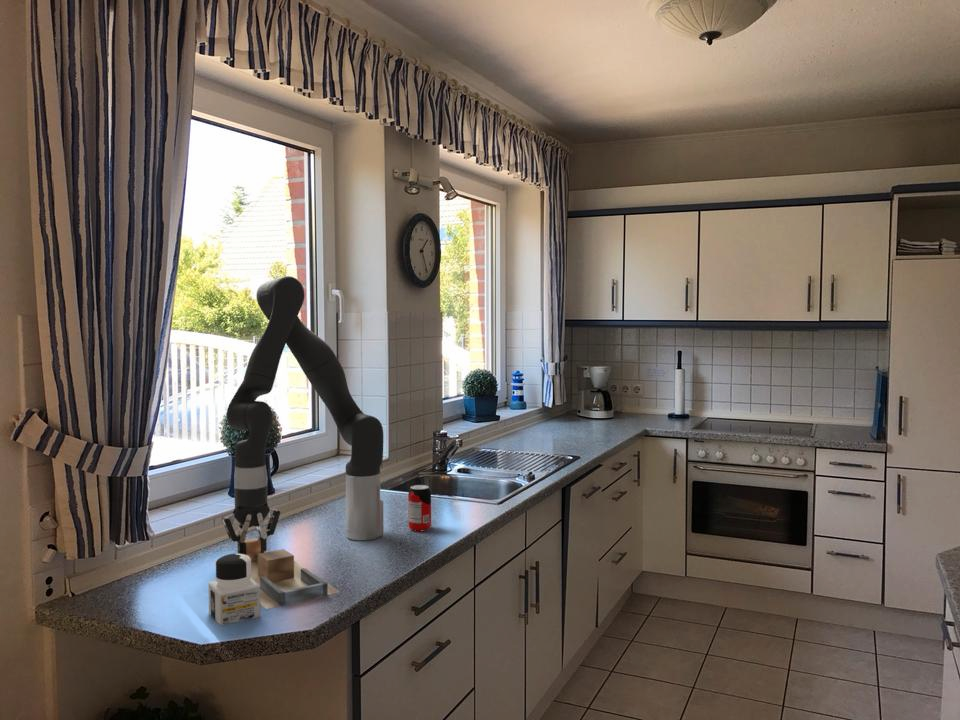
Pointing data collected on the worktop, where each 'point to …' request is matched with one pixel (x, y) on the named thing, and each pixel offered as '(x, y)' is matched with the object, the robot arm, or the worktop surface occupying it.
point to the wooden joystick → (271, 561)
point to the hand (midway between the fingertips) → (252, 554)
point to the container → (234, 591)
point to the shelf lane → (290, 587)
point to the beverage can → (419, 507)
